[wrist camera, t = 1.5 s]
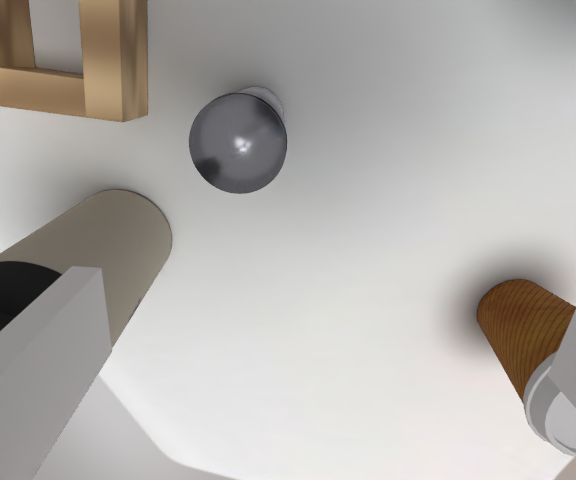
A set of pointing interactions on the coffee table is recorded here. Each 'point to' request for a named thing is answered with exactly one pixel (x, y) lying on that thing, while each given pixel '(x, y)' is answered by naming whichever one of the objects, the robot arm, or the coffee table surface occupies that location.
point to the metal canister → (240, 140)
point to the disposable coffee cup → (532, 353)
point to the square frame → (96, 63)
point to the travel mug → (90, 255)
